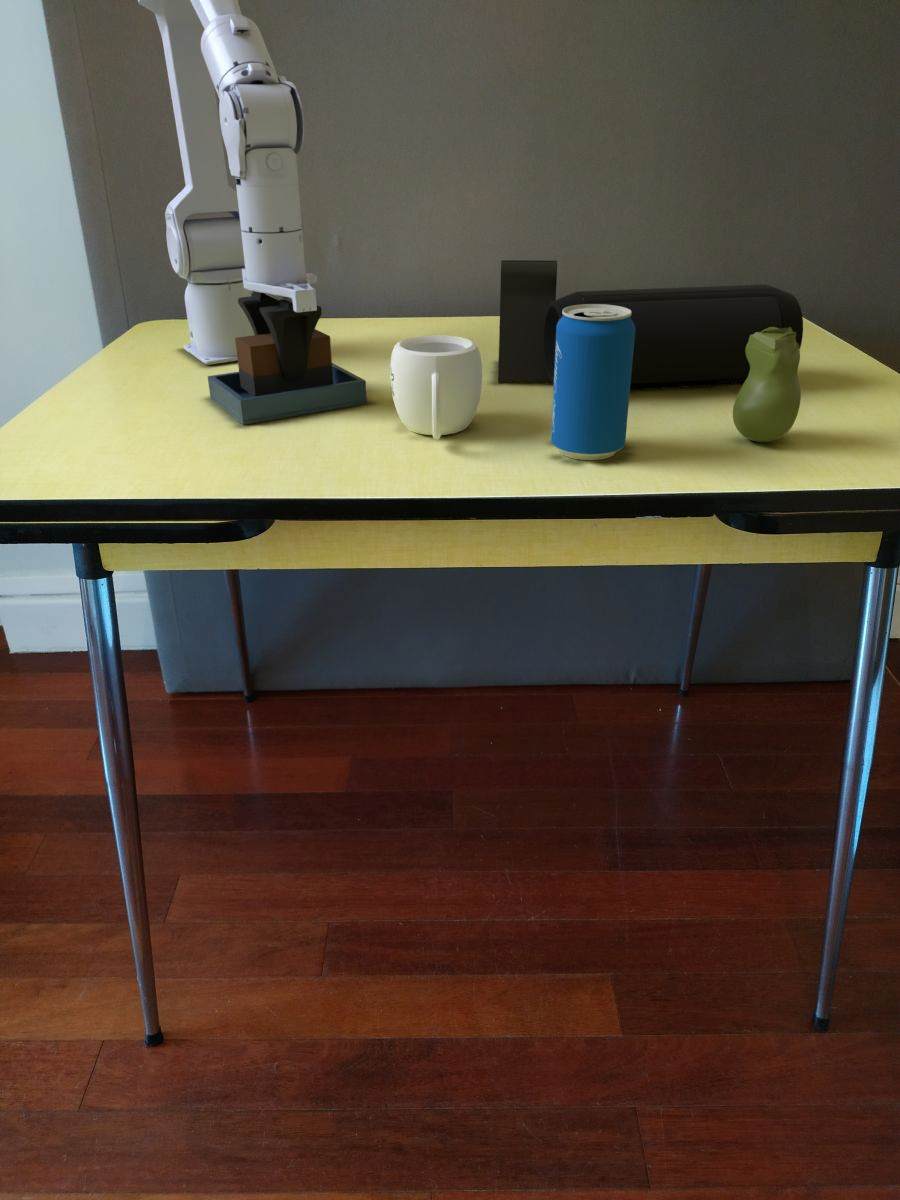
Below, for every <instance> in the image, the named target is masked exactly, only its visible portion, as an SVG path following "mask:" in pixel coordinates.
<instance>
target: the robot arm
mask: <svg viewBox="0 0 900 1200" xmlns="http://www.w3.org/2000/svg"><path fill="white" fill-rule="evenodd" d="M137 3H138V4H139V5H140V6H142V7H144V8H145V9H147V10H149V11H150V12H152V13H153V14H154V15H155V19H156V23H157V25H158V29H159V32H160V36H161V40H162V46H163V52H164V53H163V54H164V58H165V65H166V71H167V77H168V83H169V90H170V97H171V103H172V108H173V109H172V110H173V115H174V122H175V127H176V134H177V140H178V146H179V152H180V159H181V164H182V172H183V177H184V185H185V186H184V188H182V190H181V191H180V192H179V193H178V194H177V195H176V196H174V198H172V199H171V200H170V202H169V203H168V204H167V205H166V209H165V211H164V212H165V213H164V217H165V225H166V234H165V235H166V244H167V251H168V256H169V261H170V264H171V267H172V269H173V271H174V273H175V274H176V275H178V277H179V278H180V279H184V280H185V281H187V286H186V287H185V291H184V304H185V312H186V318H187V327H188V332H189V333H188V334H189V339H190V343H189V344H187V343H186V344H184V345H183V349H184V350H185V351H186V352H188V353H189V354H190V355H192V356H193V357H194V358H196V359H197V360H199V361H200V362H201V363H203V364H204V365H209V366H210V365H215V364H224V363H230V362H238V358H237V350H236V341H235V338H238V337H246V336H253V335H261V334H269V333H271V335H272V337H273V340H274V344H275V347H276V352H277V357H278V362H279V366H280V369H281V372H282V375H283V378H284V379H285V380H293V379H299V378H305V375H306V369H307V363H308V356H309V349H310V344H311V340H312V336H313V333H314V330H315V329H316V328H317V325H318V322H319V320H320V319H321V317H322V313H323V312H322V306H320V305H318V304H317V293H316V289H315V288H314V287H312V286H311V285H312V284H317V283H318V281H319V280H318V275H317V274H314V273H309V272H306V271H307V270H306V262H305V261H306V259H305V258H306V257H305V247H304V235H303V223H302V221H303V220H302V209H301V197H300V183H299V172H298V158H297V157H298V156H297V155H298V154H300V153H301V151H302V149H303V146H304V142H305V141H304V140H305V116H304V110H303V109H304V108H303V104H302V100H301V97H300V95H299V91H298V89H297V87H296V84H294V83H293V82H292V81H288V79H287V78H286V75H285V76H284V75H279V74H278V73H277V71H276V68H275V65H274V62H273V60H272V58H271V56H270V53H269V50H268V48H267V46H266V45H267V44H266V43H265V40H264V38H263V36H262V33H261V30H260V29H259V26H258V25H257V24H256V23H255V22H254V21H253V20H252V19H250V18H249V17H247V16H245V15H243V14H242V11H241V7H240V4H239V1H238V0H137ZM216 95H217V96H216ZM217 97H218V99H219V106H218V102H217ZM223 143H224V144H223ZM224 147H225V150H226V154H227V160H228V161H227V162H228V169H229V173H230V176H231V177H234V178H235V179H234V181H235V189H236V190H235V189H233V187H231V186H230V185H229V179H228V173H227V165H226V159H225V153H224V152H225V151H224ZM218 213H219V214H220V213H221V214H222V213H224V214H225V213H226V214H230V215H232V216H221V217H205V218H190V219H187V218H188V217H190V216H193V215H203V214H204V215H205V214H218Z"/></svg>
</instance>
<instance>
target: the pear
mask: <svg viewBox="0 0 900 1200" xmlns="http://www.w3.org/2000/svg"><path fill="white" fill-rule="evenodd" d="M795 337H796V332H793V331H792V329H791V327H789V328H787V327H786V328H785V329H784V328H783V329H779V328H776V327H769V328H767V329H765V330H763V331H761V332H756V333H755V334H753V335H750V337H749V341H748V343H747V345H746V349H745V353H746V357H747V359H748V362H749V364H750V372H749V375H748V377H747V379H746V381H745V382H744V384H742V385H741V387H740V389H739V390H738V393H737V396H736V398H735V399H734V400H735V401H734V404H733V408H732V420H733V424H734V426H735V428H736V430H737V432H738V433H739V434H741V435H742V436H743V437H744V438H745V439H747V440H750V441H752V442H757V443H769V442H774V441H776V440H779V439H781V438H782V437H784V436H785V435H786V434H788V432H789V431H790V430H791V429H792V427H793V426H794V425H795V422H796V420H797V417H798V415H799V410H800V406H801V398H802V387H801V382H800V377H799V365H800V361H801V347H800V348H799V344H798V342H796V340H795Z"/></svg>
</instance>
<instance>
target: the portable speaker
mask: <svg viewBox="0 0 900 1200" xmlns="http://www.w3.org/2000/svg"><path fill="white" fill-rule="evenodd" d="M583 304H605V305H615V306H620V307H625V308H627V309H629V310H631V312H632V313H631V316H630V318H631V319H632V321H633V323H634V325H635V339H634V350H633V362H632V373H631V384H630V391H637V390H655V389H656V390H658V389H673V388H674V389H677V388H693V387H694V388H695V387H713V386H729V385H732V386H733V385H734V386H735V385H743V384H744V382H745V381H746V379H747V377H748V375H749V372H750V364H749V362H748V359H747V357H746V353H745V349H746V345H747V343H748V341H749V337H750V335H753V334H755V333H756V332H761V331H763V330H765V329H767V328H769V327H776V328H779V329H783V328H784V329H785V328H786V327H787V328H789V327H791V329H792V331H793V332H796V337H795V340H796V342H798V344H799V348H800V349H801V347H802V341H803V337H804V317H803V312H802V308H801V305H800V303H799V301H798V299H797V297H795V296H794V295H793V294H792V293H790V292H788V291H785V290H783V289H780V288H777V287H775V286H771V285H769V284H740V285H739V284H738V285H736V284H735V285H714V286H713V285H711V286H688V287H687V286H686V287H684V286H683V287H659V288H657V287H656V288H634V289H632V288H631V289H629V288H628V289H605V290H582V291H574V292H571V293H570V294H567V295H564V296H563V297H560V298H556V300H555V301H553V302H551V303H550V304H549V306H548V308H547V311H546V315H545V321H544V330H543V353H544V361H545V367H546V372H547V375H548V377H549V379H550V381H551V382H552V383H553V384H554V368H555V347H556V326H557V324H558V322H559V320H560V319H561V318H562V316H563V314H562V310H563V309H564V308H566V307H569V306H574V305H583Z"/></svg>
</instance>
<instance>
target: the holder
mask: <svg viewBox="0 0 900 1200" xmlns="http://www.w3.org/2000/svg"><path fill="white" fill-rule="evenodd" d="M332 371H333V384H331V385H325V386H319V387H313V388H306V389H300V390H294V391H288V392H281V393H275V394H269V395H263V396H256V397H254V396H253V395H251V394H250V393H249V392H247V391H246V390H244V389H243V388H242V387H241V384H240V375H239V371H234V372H225V373H221V374H213V375H208V376H207V382H208V389H209V397H210V398H209V399H210V400H211V401H212V402H214V403H215V404H216V405H218V406H219V407H220V408H221V409H222V410H223V411H225V412H226V413H228V414H229V415H230V416H232V417H233V418H234V420H236V421H238V422H239V423H240V424H241V425H243V426H247V425H253V424H257V423H258V424H259V423H262V422H270V421H274V420H275V421H276V420H281V419H288V418H293V417H298V416H303V415H310V414H316V413H321V412H327V411H332V410H339V409H344V408H351V407H355V406H362V405H366V404H368V398H367V397H368V395H367V394H368V393H367V381H366V379H363V378H362V377H360V376H358V375H357V374H354V373H352V372H350V371H348V369H345V368H343V367H341V366H340V365H337V364H336V363H333V362H332Z"/></svg>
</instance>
